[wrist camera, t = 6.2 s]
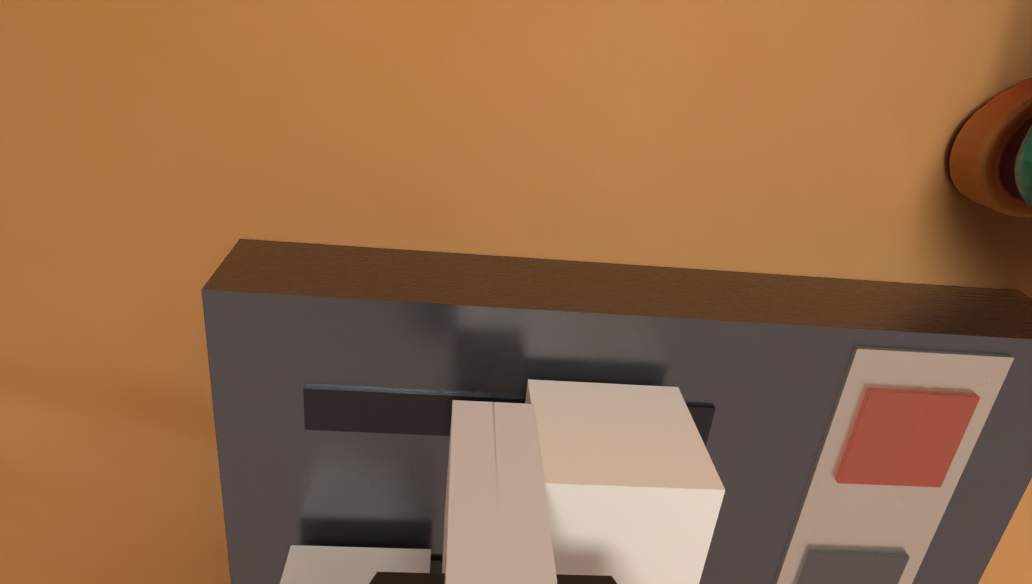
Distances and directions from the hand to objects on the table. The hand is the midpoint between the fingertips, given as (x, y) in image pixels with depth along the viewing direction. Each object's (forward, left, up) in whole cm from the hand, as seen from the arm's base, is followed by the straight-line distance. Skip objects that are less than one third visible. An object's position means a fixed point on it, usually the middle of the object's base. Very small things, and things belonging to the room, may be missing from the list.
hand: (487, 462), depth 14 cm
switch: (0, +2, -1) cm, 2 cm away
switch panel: (+4, +4, -4) cm, 7 cm away
